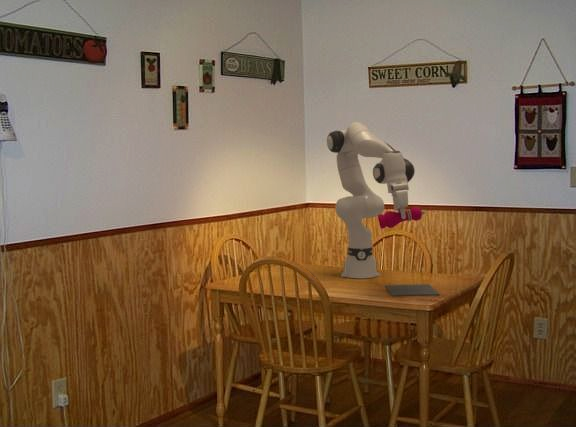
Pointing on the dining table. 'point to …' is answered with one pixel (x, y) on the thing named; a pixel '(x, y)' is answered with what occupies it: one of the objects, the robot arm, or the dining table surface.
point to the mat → (411, 290)
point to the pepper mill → (399, 217)
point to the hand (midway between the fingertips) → (402, 219)
